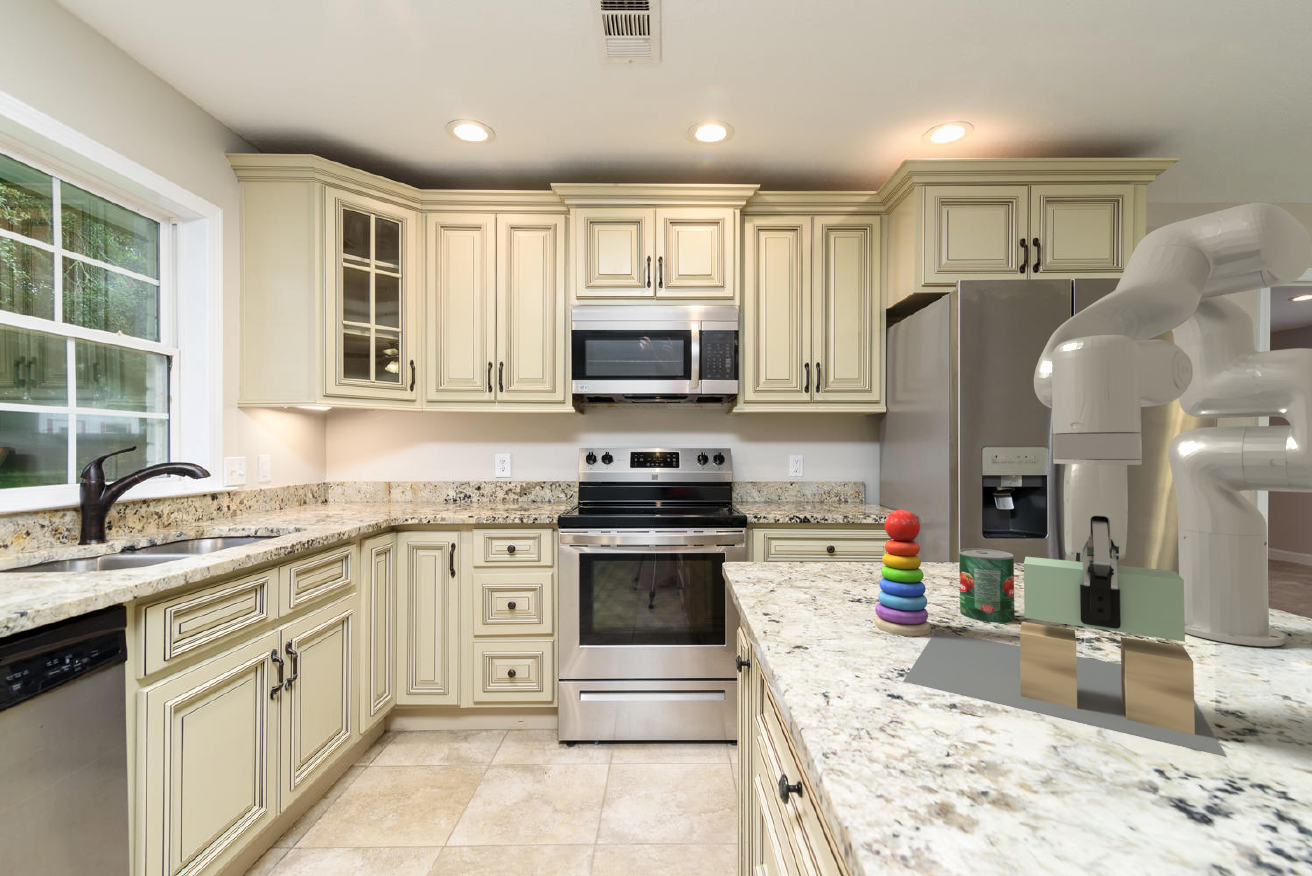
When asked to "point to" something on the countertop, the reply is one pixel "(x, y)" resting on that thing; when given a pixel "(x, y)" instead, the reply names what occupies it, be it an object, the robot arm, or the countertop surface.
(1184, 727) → the pillar
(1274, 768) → the countertop surface
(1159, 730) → the mat
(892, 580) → the stacking toy
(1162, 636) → the beam
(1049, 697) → the pillar
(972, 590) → the canned tomato
